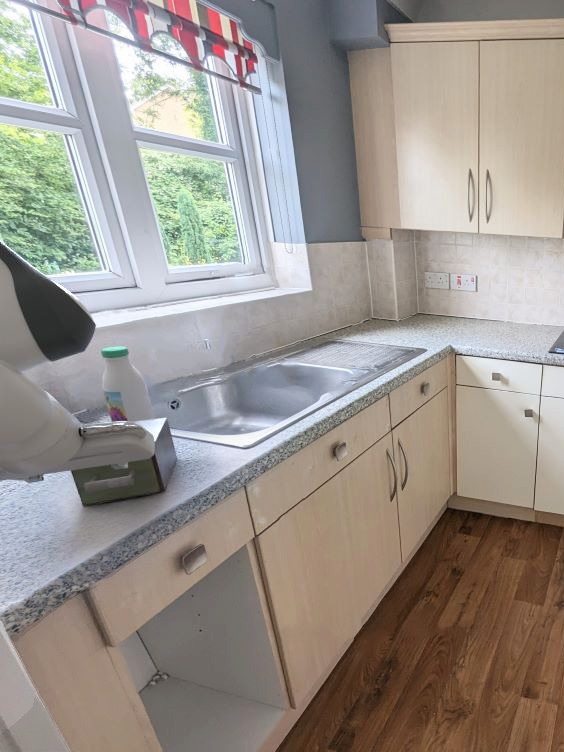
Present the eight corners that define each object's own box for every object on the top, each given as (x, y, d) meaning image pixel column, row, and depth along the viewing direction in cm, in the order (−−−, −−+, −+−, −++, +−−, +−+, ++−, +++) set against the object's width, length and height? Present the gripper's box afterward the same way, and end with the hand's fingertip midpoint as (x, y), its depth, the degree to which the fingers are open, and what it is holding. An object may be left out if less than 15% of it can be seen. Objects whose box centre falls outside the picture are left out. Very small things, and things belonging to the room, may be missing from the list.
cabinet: (165, 491, 85) (153, 445, 82) (82, 506, 80) (66, 458, 76) (177, 458, 97) (167, 417, 94) (106, 469, 91) (92, 426, 88)
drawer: (154, 503, 80) (143, 464, 77) (75, 518, 75) (60, 476, 72) (171, 460, 94) (162, 425, 92) (105, 470, 90) (94, 434, 87)
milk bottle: (154, 420, 115) (134, 343, 108) (158, 429, 110) (138, 349, 103) (113, 427, 109) (89, 347, 103) (116, 438, 104) (91, 354, 97)
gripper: (138, 402, 62) (167, 439, 73) (-88, 425, 52) (-14, 463, 64) (139, 445, 60) (168, 476, 71) (-96, 477, 50) (-19, 506, 62)
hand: (80, 470), depth 67 cm, fingers open, 8 cm apart
